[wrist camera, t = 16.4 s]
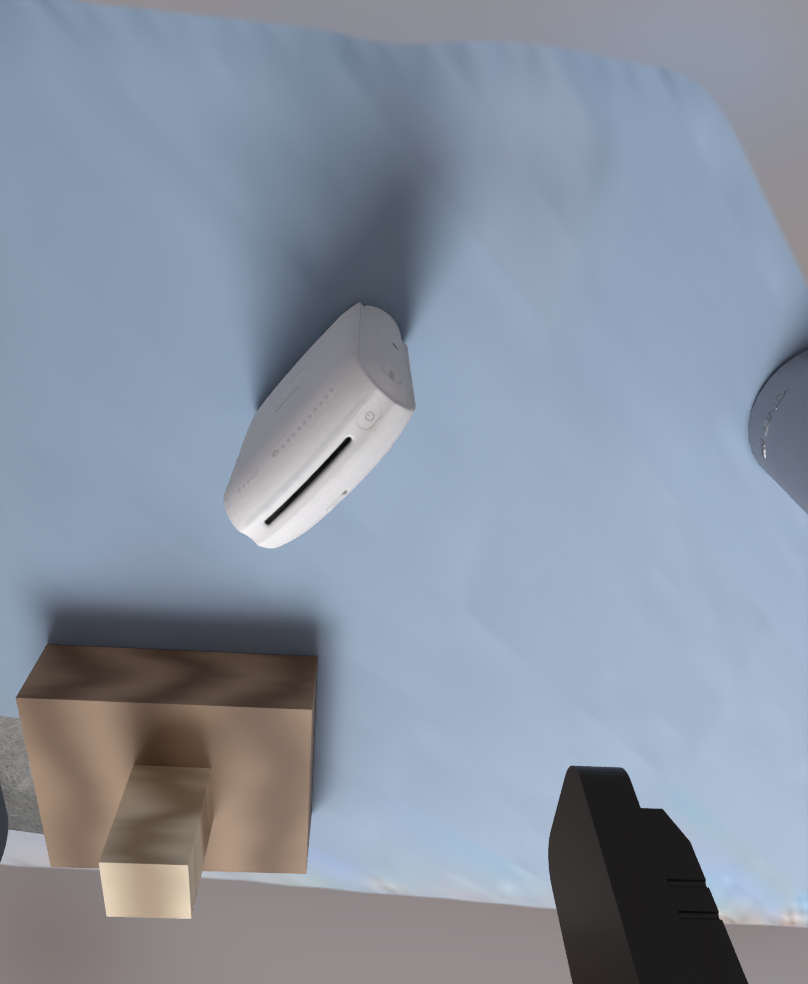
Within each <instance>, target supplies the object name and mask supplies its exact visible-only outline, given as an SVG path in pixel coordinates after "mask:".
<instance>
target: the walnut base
mask: <svg viewBox="0 0 808 984" xmlns="http://www.w3.org/2000/svg"><path fill="white" fill-rule="evenodd" d="M317 663H318V657H314V656H292V655H270V654H248V653H226V652H204V651H182V650H160V649H138V648H116V647H94V646H72V645H50V644H47V645H46V647H45V649H44V650H43V652H42V654H41V656H40V657H39V659H38V661H37V662H36V664H35V666H34V668H33V669H32V671H31V673H30V674H29V676H28V678H27V680H26V681H25V683H24V685H23V686H22V688H21V690H20V692H19V693H18V695H17V697H16V701H17V706H18V711H19V715H20V720H21V725H22V730H23V735H24V739H25V744H26V749H27V754H28V759H29V763H30V768H31V773H32V778H33V783H34V787H35V792H36V797H37V802H38V807H39V811H40V816H41V821H42V826H43V831H44V835H45V840H46V845H47V850H48V855H49V859H50V864H51V867H71V868H99V860H100V858H101V855H102V852H103V849H104V846H105V843H106V841H107V838H108V835H109V832H110V829H111V827H112V824H113V821H114V818H115V815H116V813H117V810H118V807H119V804H120V801H121V798H122V796H123V793H124V790H125V787H126V784H127V782H128V779H129V776H130V773H131V770H132V768H133V765H144V766H168V767H192V768H211V771H212V798H213V824H212V828H211V833H210V837H209V842H208V846H207V851H206V855H205V860H204V864H203V869H202V871H222V872H259V873H297V874H306V870H307V858H308V847H309V836H310V825H311V813H312V788H313V763H314V738H315V713H316V688H317Z"/></svg>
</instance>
